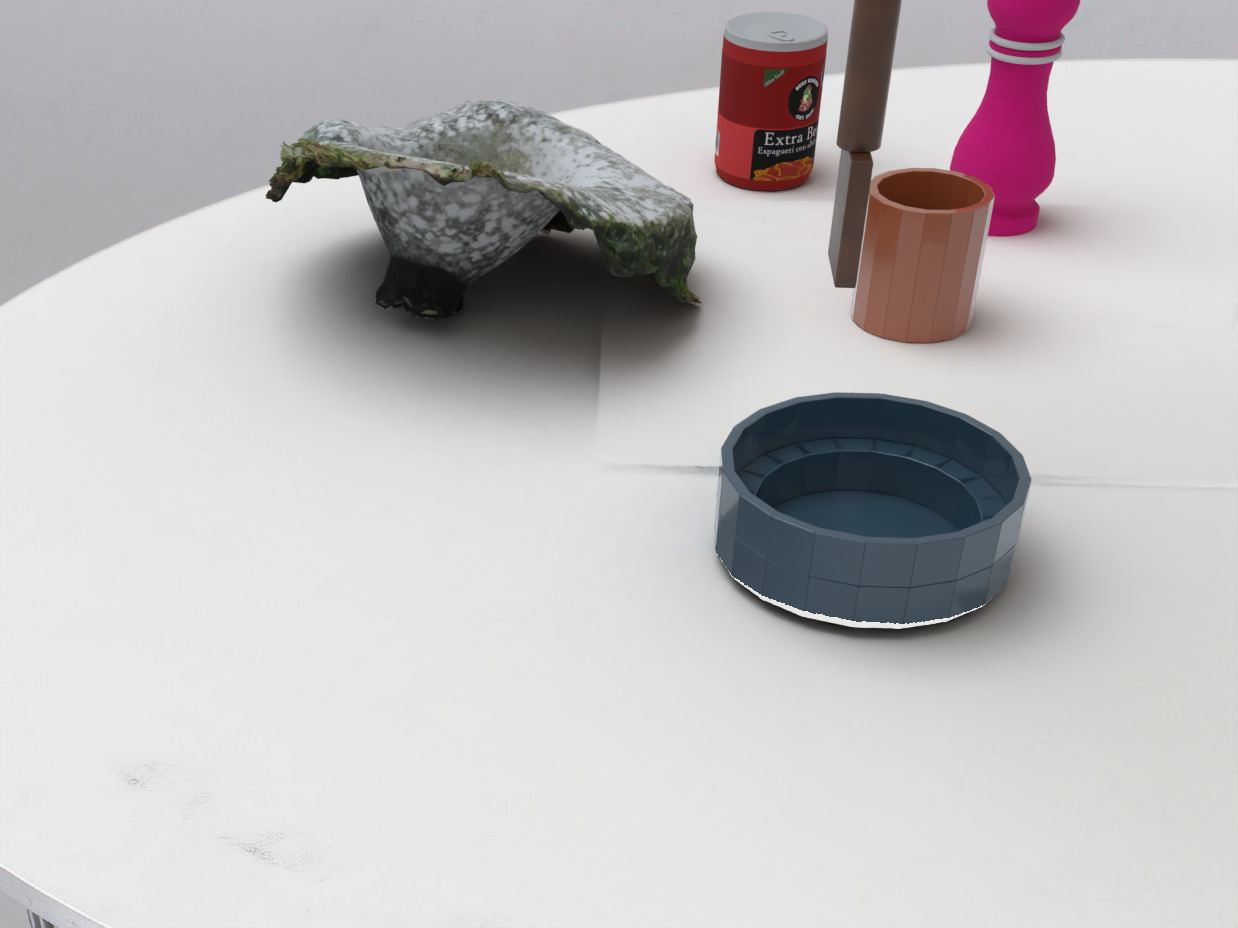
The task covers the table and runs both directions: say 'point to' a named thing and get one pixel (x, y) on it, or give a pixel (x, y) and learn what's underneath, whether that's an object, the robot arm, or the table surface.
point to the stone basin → (493, 198)
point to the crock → (921, 254)
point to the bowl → (870, 507)
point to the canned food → (769, 99)
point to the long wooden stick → (861, 129)
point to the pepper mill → (1016, 112)
